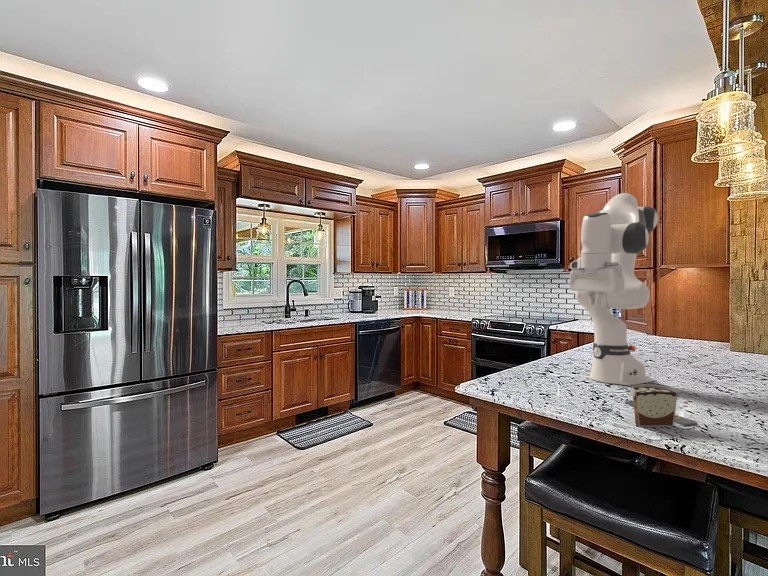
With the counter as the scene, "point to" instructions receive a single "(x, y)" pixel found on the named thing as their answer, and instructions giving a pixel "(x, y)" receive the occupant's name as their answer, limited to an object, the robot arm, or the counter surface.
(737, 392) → the counter surface
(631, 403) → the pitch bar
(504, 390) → the counter surface
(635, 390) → the food container
